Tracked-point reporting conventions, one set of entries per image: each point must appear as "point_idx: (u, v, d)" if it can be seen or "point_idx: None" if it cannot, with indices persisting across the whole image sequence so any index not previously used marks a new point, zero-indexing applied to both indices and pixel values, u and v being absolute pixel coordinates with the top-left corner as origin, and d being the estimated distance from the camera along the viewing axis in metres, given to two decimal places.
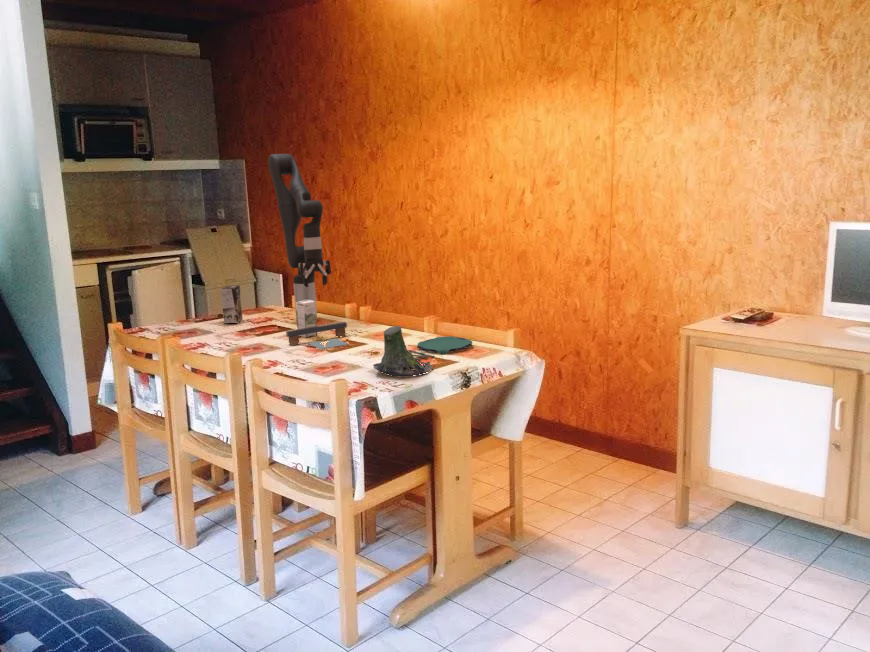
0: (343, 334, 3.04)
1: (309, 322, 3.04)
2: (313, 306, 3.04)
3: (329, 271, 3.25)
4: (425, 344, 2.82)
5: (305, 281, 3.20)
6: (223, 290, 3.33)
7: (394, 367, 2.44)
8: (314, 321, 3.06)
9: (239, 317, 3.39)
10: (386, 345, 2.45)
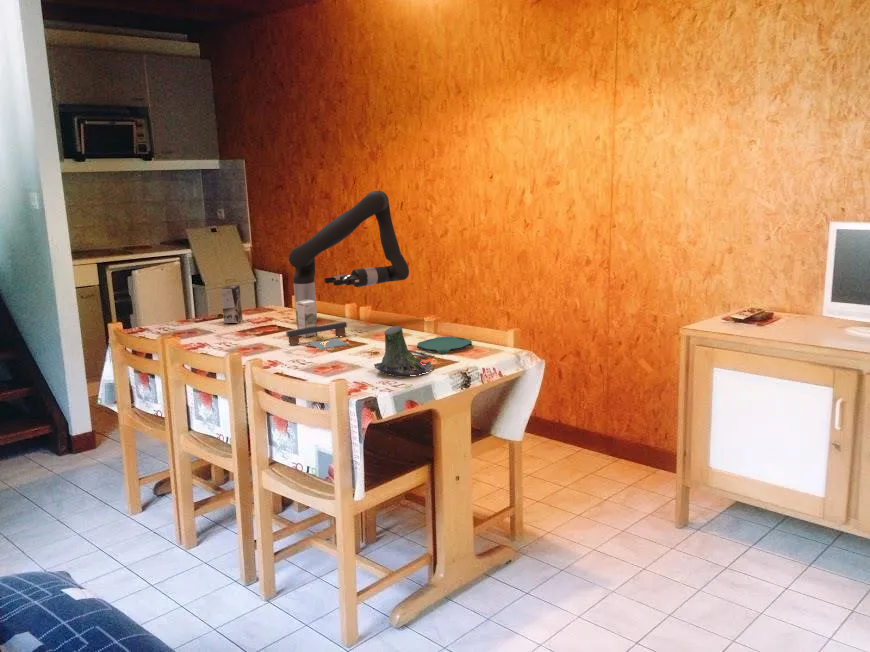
0: (343, 334, 3.04)
1: (309, 322, 3.04)
2: (313, 306, 3.04)
3: None
4: (425, 344, 2.83)
5: (340, 284, 3.06)
6: (223, 290, 3.33)
7: (395, 367, 2.44)
8: (314, 321, 3.06)
9: (239, 317, 3.39)
10: (387, 345, 2.45)
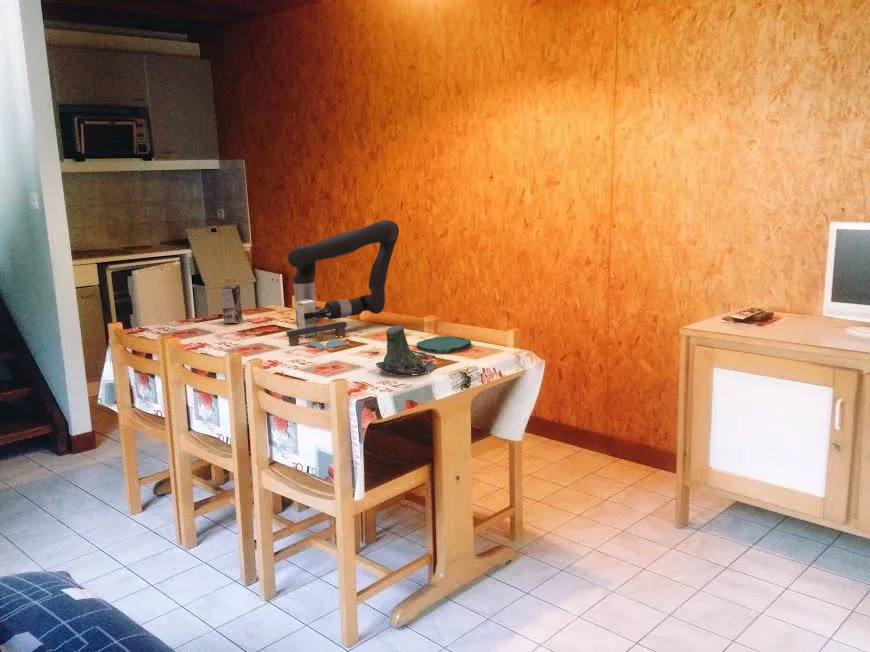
0: (343, 334, 3.04)
1: (309, 322, 3.04)
2: (313, 306, 3.04)
3: None
4: (424, 344, 2.83)
5: (310, 317, 3.03)
6: (223, 290, 3.33)
7: (396, 366, 2.45)
8: (314, 321, 3.06)
9: (239, 317, 3.39)
10: (388, 344, 2.46)
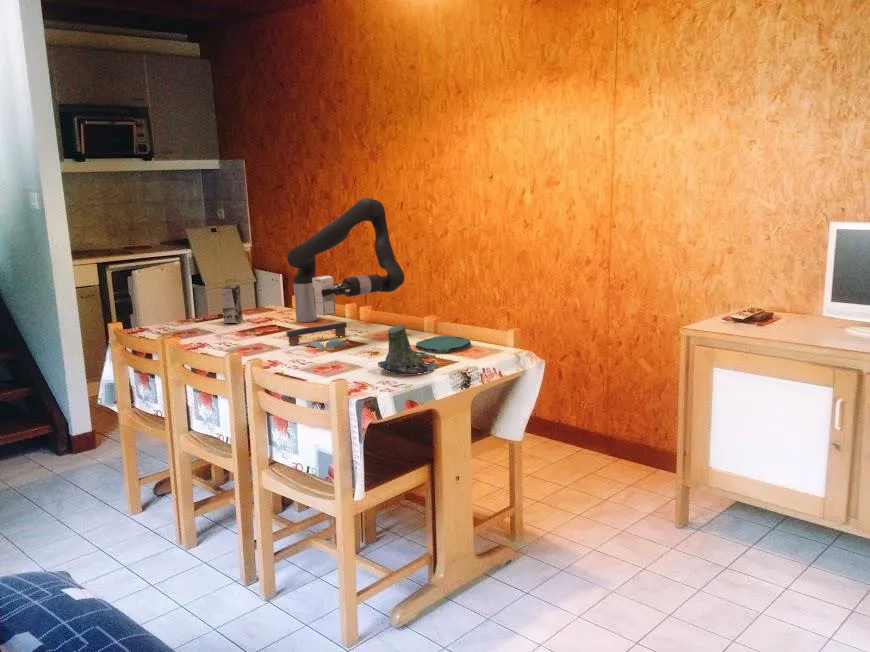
0: (343, 334, 3.04)
1: (327, 299, 2.87)
2: (331, 282, 2.87)
3: None
4: (423, 344, 2.83)
5: (328, 294, 2.85)
6: (223, 290, 3.33)
7: (397, 366, 2.46)
8: (332, 298, 2.88)
9: (239, 317, 3.39)
10: (390, 343, 2.47)
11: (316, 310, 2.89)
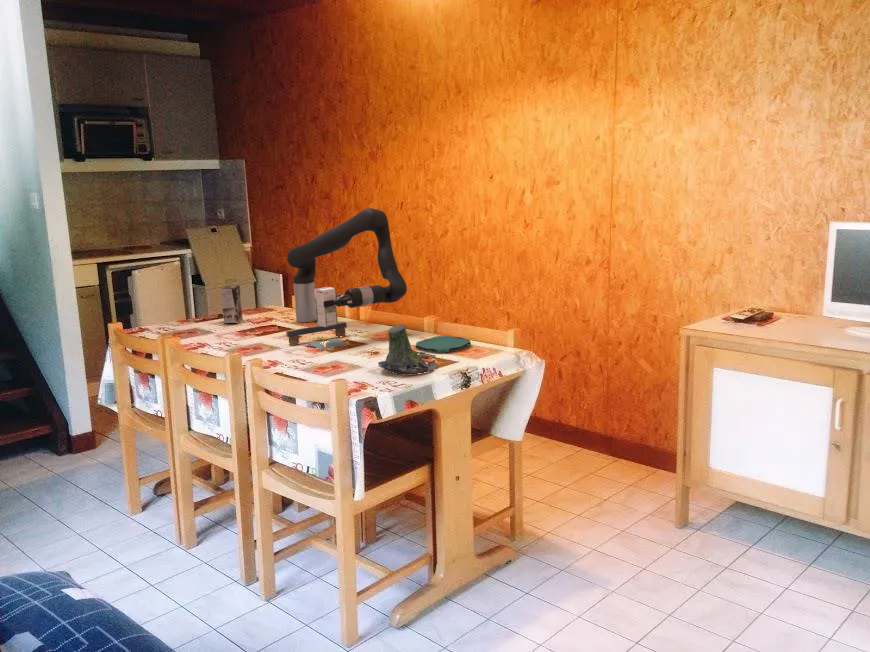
0: (343, 334, 3.04)
1: (329, 310, 2.86)
2: (333, 293, 2.86)
3: None
4: (423, 344, 2.83)
5: (330, 305, 2.84)
6: (223, 290, 3.33)
7: (398, 365, 2.46)
8: (334, 309, 2.88)
9: (239, 317, 3.39)
10: (390, 343, 2.47)
11: (318, 321, 2.89)
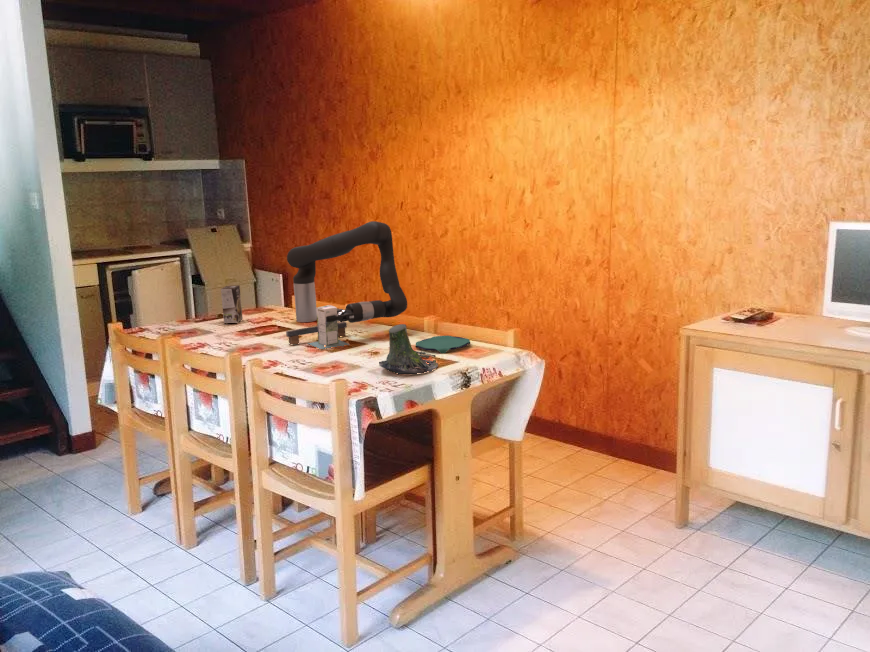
0: (343, 334, 3.04)
1: (330, 329, 2.87)
2: (334, 312, 2.88)
3: None
4: (423, 343, 2.83)
5: (333, 320, 2.85)
6: (223, 290, 3.33)
7: (398, 365, 2.46)
8: (335, 328, 2.89)
9: (239, 317, 3.39)
10: (391, 343, 2.47)
11: (319, 340, 2.90)
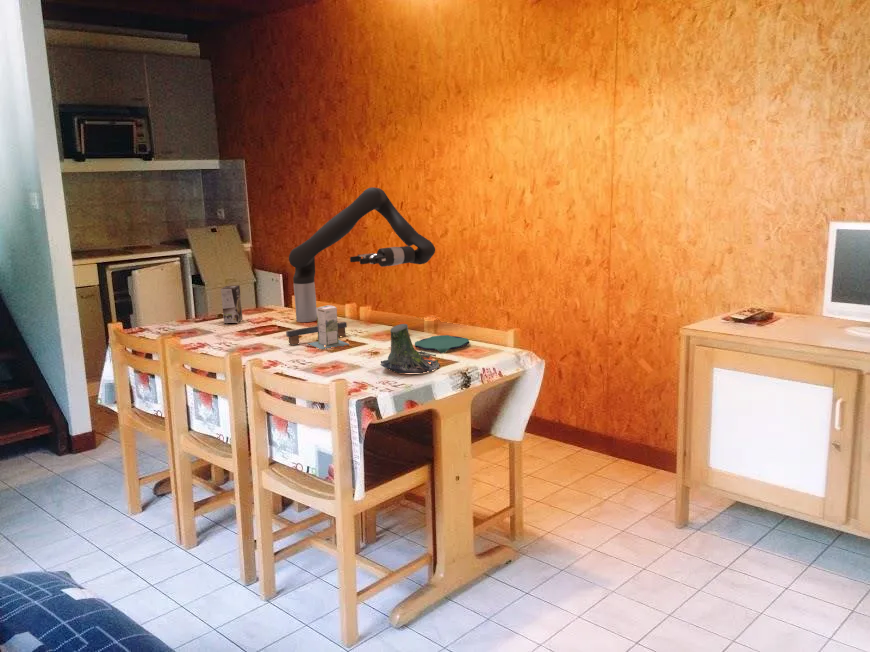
0: (343, 334, 3.04)
1: (330, 329, 2.87)
2: (334, 312, 2.88)
3: None
4: (422, 343, 2.84)
5: (366, 263, 2.99)
6: (223, 290, 3.33)
7: (399, 365, 2.47)
8: (335, 328, 2.89)
9: (239, 317, 3.39)
10: (392, 342, 2.48)
11: (319, 340, 2.90)
